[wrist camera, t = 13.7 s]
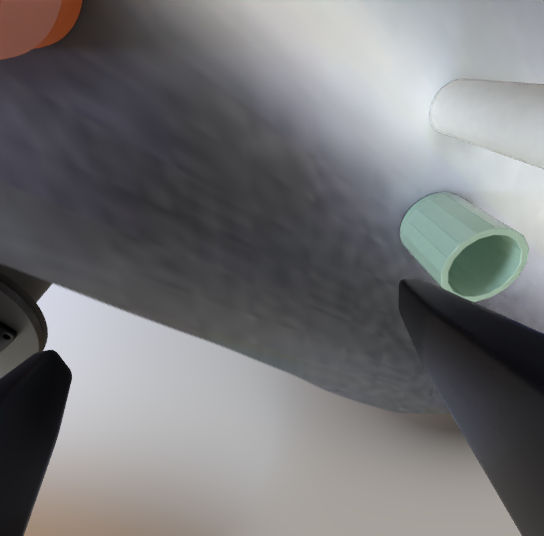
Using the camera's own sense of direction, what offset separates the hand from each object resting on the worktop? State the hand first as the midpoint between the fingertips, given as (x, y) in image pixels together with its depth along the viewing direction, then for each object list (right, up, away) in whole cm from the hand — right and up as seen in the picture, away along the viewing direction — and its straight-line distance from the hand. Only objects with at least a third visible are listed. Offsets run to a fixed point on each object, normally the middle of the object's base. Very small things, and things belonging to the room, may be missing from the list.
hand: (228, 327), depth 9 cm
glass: (+12, +4, +14) cm, 19 cm away
